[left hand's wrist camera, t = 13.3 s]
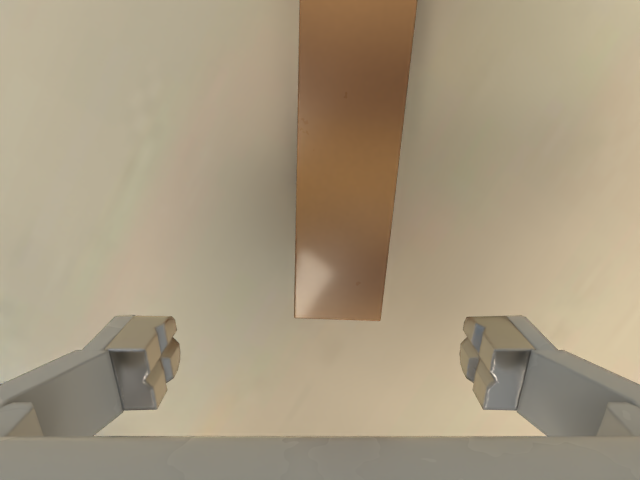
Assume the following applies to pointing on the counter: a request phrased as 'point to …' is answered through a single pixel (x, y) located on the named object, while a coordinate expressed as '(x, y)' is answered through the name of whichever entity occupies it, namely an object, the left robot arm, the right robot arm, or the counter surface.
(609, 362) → the counter surface
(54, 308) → the counter surface
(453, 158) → the counter surface
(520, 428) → the counter surface
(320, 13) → the bar
